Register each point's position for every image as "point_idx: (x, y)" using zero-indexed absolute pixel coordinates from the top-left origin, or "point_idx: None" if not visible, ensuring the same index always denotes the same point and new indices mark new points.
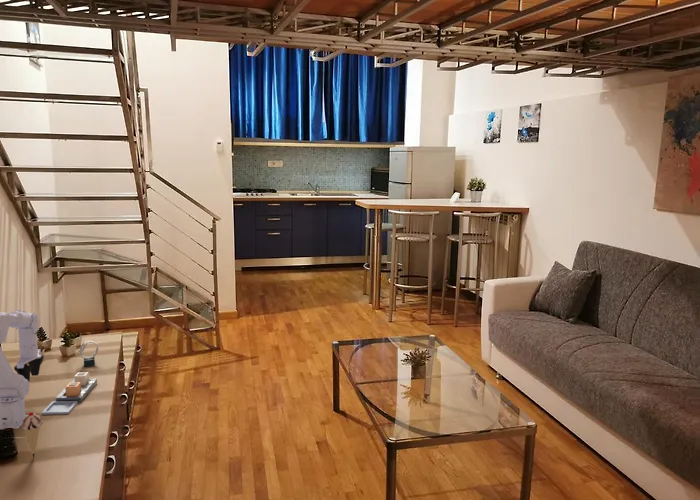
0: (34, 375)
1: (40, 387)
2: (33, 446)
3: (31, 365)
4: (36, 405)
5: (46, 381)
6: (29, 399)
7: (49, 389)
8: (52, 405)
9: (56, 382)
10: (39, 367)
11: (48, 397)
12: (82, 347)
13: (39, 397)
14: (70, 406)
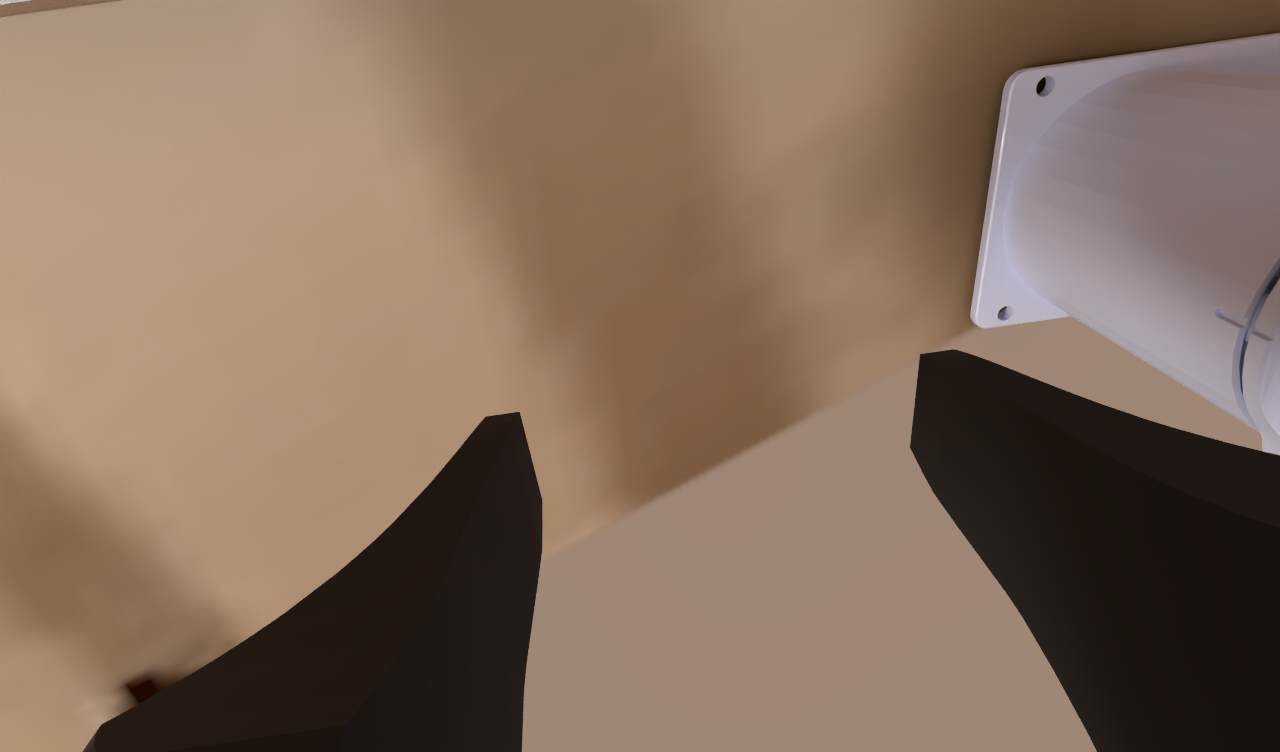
0: (530, 464)
1: (226, 413)
2: None
3: (510, 698)
4: (693, 183)
5: (54, 442)
6: (545, 349)
7: (235, 288)
8: None
9: (13, 321)
10: (436, 506)
11: (454, 165)
12: None
13: (477, 275)
14: None
